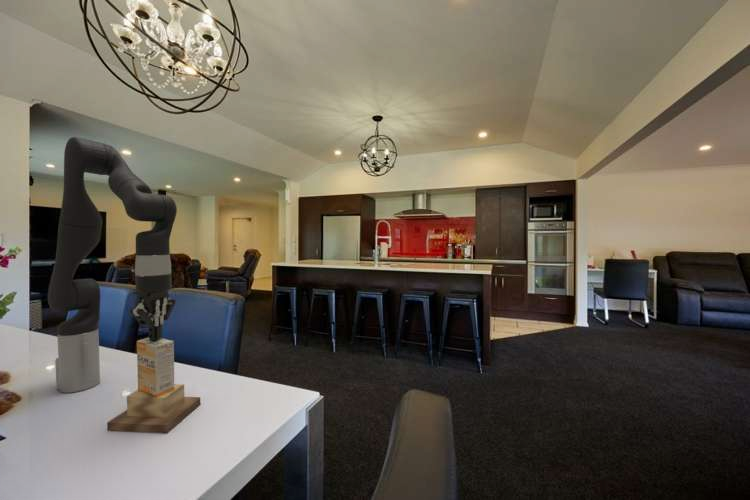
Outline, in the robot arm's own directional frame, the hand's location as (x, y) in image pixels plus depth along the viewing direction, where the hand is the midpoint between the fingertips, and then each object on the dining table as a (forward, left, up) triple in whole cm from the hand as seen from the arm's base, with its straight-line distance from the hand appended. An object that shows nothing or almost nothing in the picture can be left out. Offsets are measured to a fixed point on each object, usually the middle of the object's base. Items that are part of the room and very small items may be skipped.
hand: (155, 339), depth 81 cm
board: (0, 0, -20) cm, 20 cm away
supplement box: (0, 0, -13) cm, 13 cm away
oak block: (0, 0, -18) cm, 18 cm away
